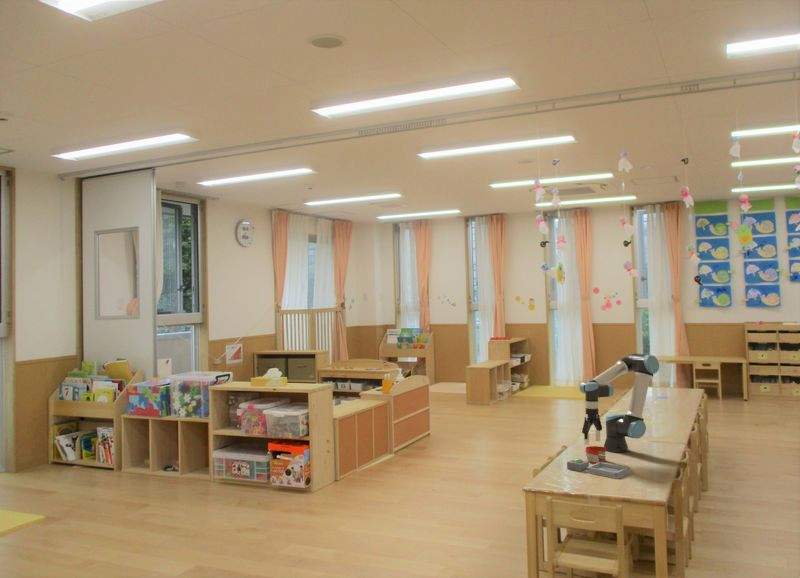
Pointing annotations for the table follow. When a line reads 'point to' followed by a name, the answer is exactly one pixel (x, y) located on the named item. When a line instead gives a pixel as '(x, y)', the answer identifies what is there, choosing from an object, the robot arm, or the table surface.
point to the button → (578, 460)
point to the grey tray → (608, 470)
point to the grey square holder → (577, 465)
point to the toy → (595, 454)
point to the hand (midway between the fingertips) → (592, 442)
